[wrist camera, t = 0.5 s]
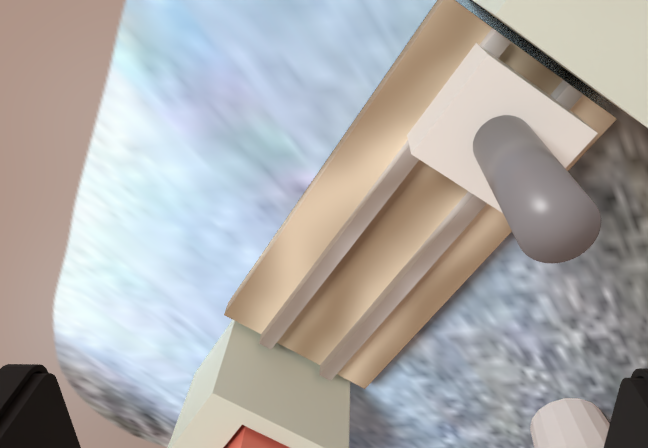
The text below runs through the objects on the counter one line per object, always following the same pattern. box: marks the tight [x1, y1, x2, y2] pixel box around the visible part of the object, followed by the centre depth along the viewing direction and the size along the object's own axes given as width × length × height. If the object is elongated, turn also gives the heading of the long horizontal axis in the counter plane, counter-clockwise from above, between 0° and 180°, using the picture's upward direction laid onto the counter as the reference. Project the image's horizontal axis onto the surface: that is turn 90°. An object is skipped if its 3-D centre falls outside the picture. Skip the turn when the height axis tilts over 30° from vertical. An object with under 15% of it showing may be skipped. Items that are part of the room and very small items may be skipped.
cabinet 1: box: [168, 320, 350, 448], centre depth 41 cm, size 10×7×8 cm
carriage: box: [407, 43, 601, 263], centre depth 26 cm, size 7×6×12 cm
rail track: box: [224, 0, 616, 389], centre depth 36 cm, size 12×25×2 cm, turn 148°
